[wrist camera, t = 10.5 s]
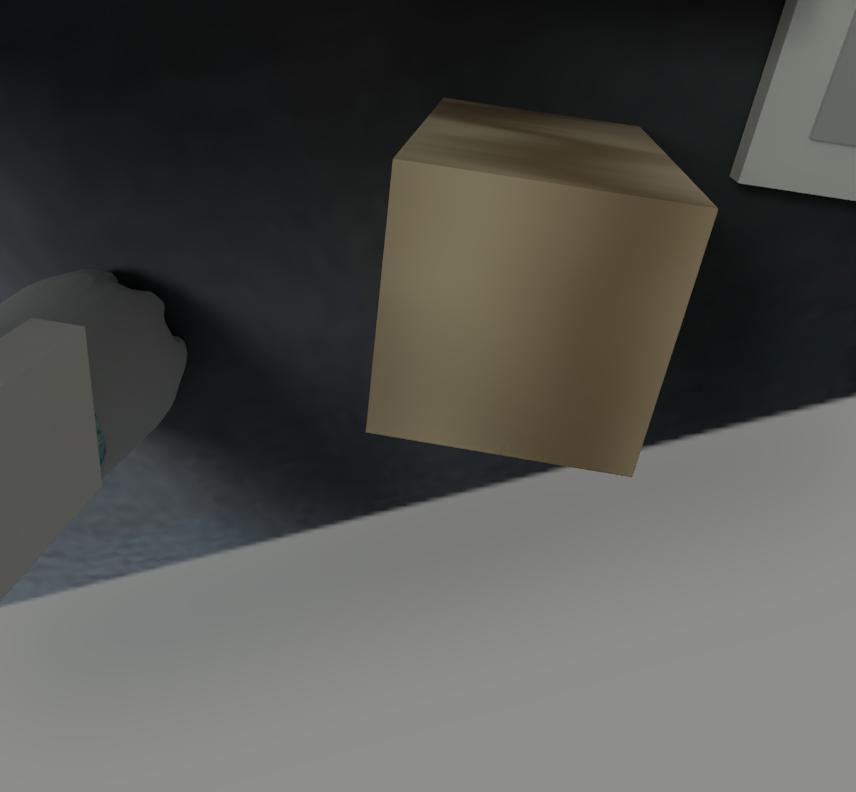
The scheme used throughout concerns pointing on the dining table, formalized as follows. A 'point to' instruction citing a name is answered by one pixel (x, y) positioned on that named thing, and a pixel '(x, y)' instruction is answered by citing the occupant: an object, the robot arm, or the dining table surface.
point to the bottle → (111, 351)
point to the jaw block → (532, 285)
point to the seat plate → (805, 105)
